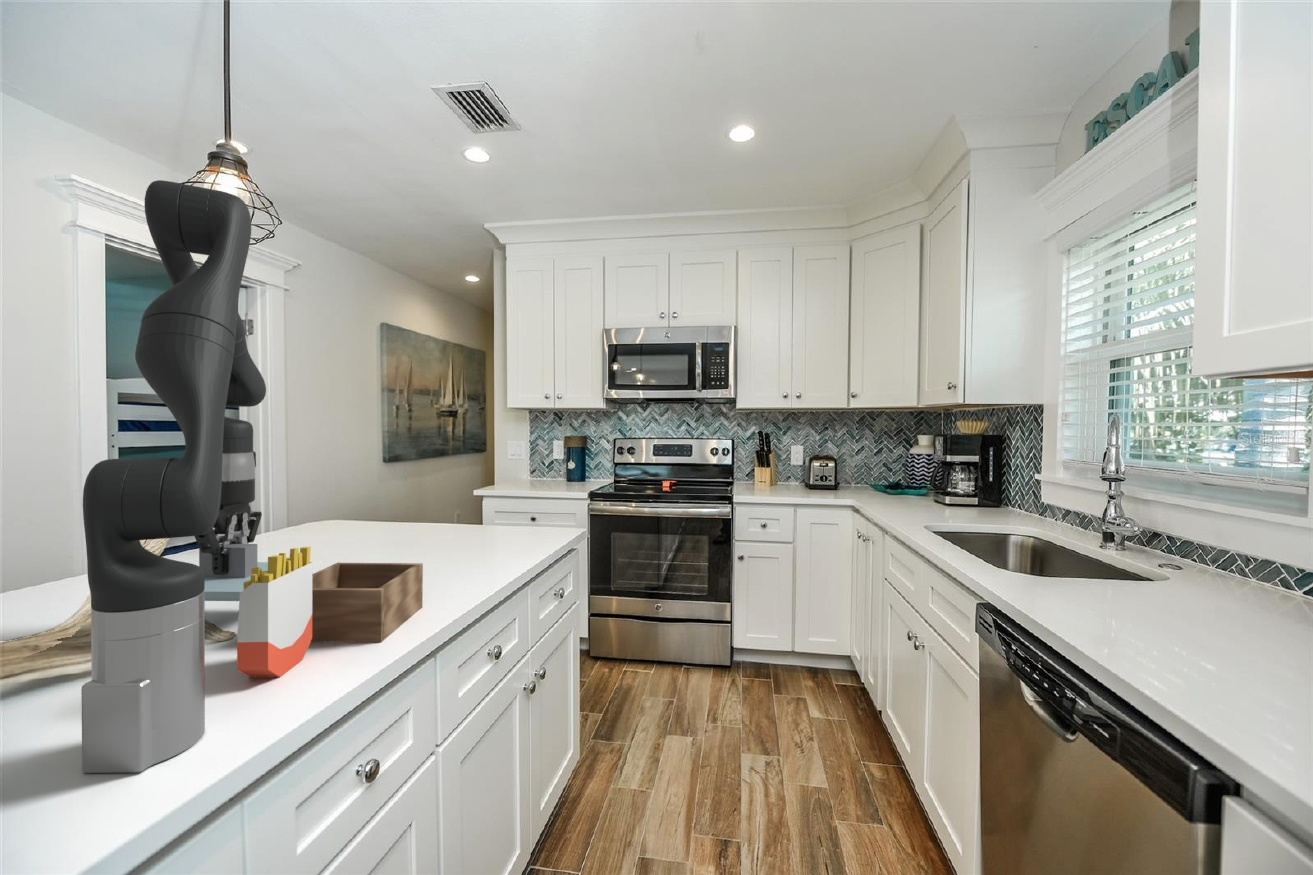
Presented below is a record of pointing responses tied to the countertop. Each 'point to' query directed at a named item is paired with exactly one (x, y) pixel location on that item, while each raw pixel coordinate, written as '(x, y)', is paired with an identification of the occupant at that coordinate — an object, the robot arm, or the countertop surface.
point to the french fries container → (275, 616)
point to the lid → (230, 572)
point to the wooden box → (364, 600)
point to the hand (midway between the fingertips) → (229, 570)
